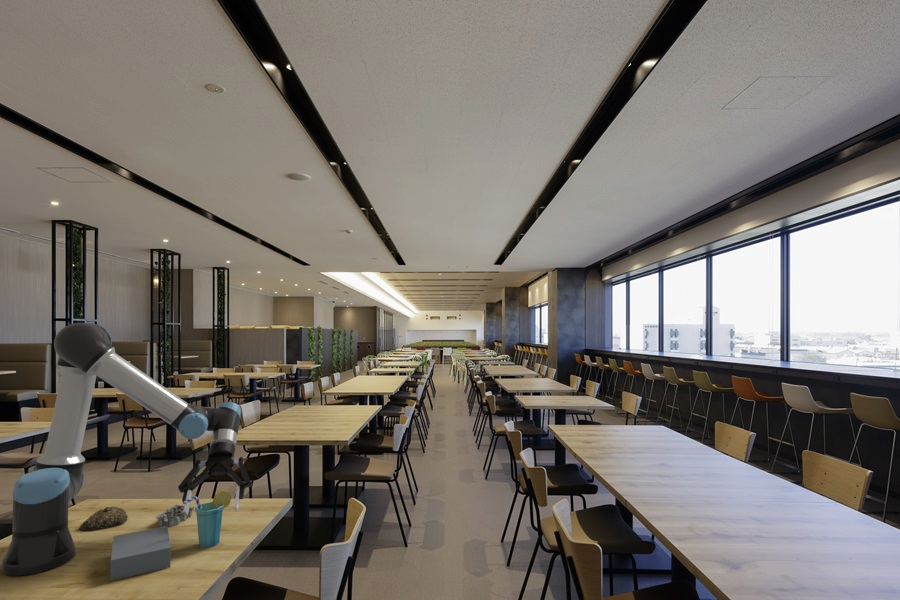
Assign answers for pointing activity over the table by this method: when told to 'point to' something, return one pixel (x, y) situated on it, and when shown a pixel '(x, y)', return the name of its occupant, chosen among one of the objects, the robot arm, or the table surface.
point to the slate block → (140, 552)
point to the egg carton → (168, 518)
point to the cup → (210, 518)
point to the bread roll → (105, 519)
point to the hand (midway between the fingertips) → (210, 511)
